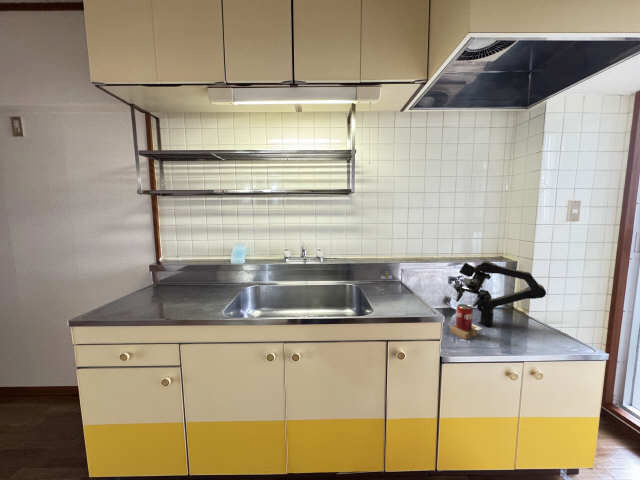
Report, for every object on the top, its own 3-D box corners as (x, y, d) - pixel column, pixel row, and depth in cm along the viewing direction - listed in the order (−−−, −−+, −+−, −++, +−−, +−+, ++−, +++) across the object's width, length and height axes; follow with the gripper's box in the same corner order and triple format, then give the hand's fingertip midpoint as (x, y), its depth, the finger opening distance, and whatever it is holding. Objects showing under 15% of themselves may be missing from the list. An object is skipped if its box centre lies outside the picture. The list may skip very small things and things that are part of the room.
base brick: (461, 328, 147) (461, 323, 147) (477, 335, 139) (477, 330, 139) (449, 332, 143) (450, 326, 143) (465, 339, 135) (465, 334, 135)
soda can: (473, 328, 141) (474, 305, 140) (469, 333, 136) (471, 310, 134) (458, 324, 146) (459, 302, 145) (454, 328, 141) (455, 306, 139)
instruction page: (470, 323, 153) (470, 323, 153) (482, 328, 147) (482, 328, 147) (458, 327, 149) (458, 326, 149) (470, 332, 143) (470, 332, 143)
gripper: (455, 269, 155) (442, 291, 151) (489, 276, 139) (476, 300, 135) (463, 280, 160) (451, 302, 156) (497, 288, 144) (484, 312, 140)
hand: (464, 304), depth 147 cm, fingers open, 9 cm apart
